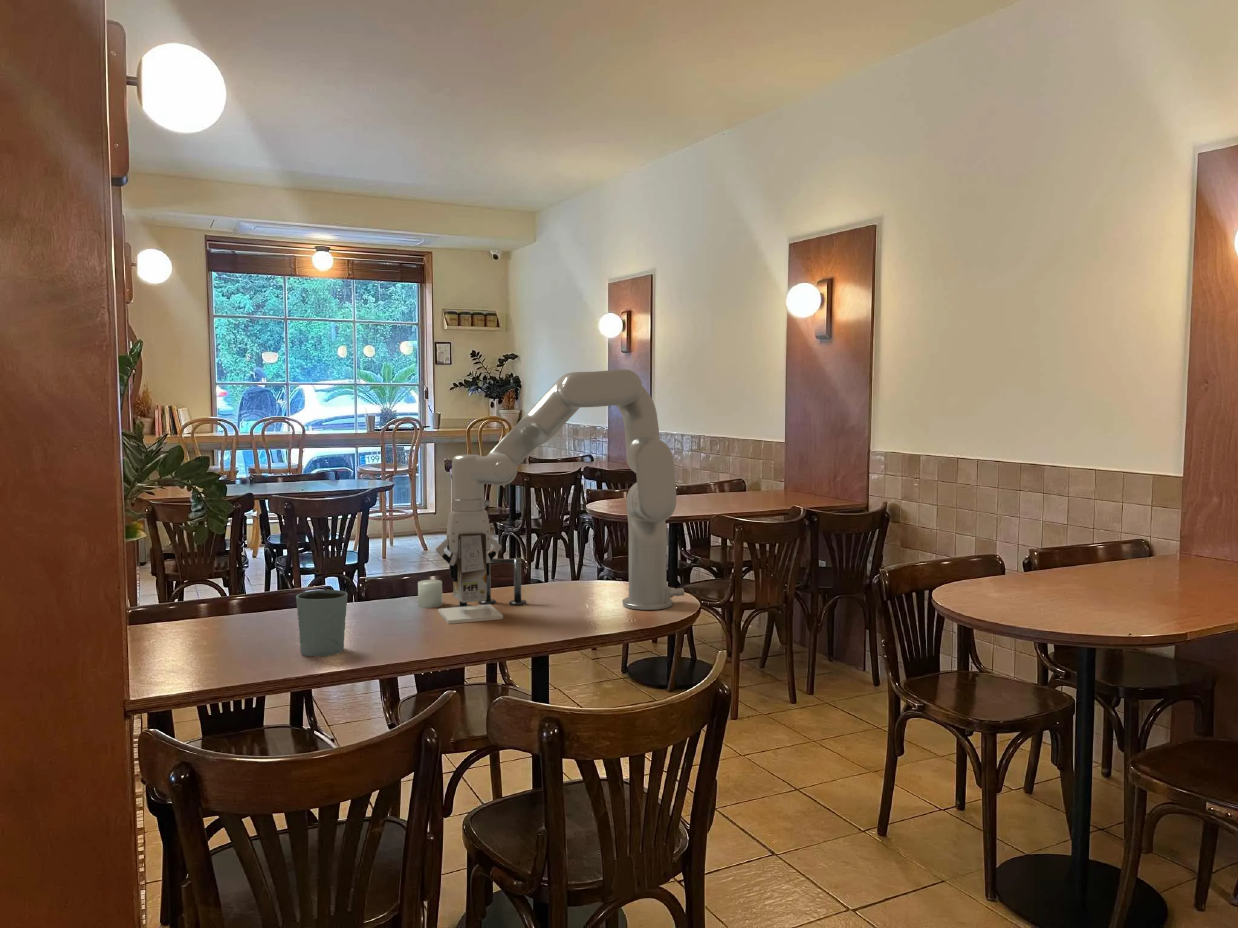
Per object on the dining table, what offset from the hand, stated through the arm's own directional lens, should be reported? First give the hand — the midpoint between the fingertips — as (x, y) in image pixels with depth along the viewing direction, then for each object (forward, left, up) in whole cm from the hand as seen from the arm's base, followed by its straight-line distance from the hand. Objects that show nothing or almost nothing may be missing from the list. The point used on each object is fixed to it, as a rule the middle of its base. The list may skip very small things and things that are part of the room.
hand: (469, 579), depth 222 cm
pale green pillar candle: (+7, -15, -9) cm, 19 cm away
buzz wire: (-7, -10, -9) cm, 15 cm away
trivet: (0, 0, -9) cm, 9 cm away
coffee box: (0, 0, -5) cm, 5 cm away
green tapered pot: (+35, +20, -9) cm, 41 cm away
